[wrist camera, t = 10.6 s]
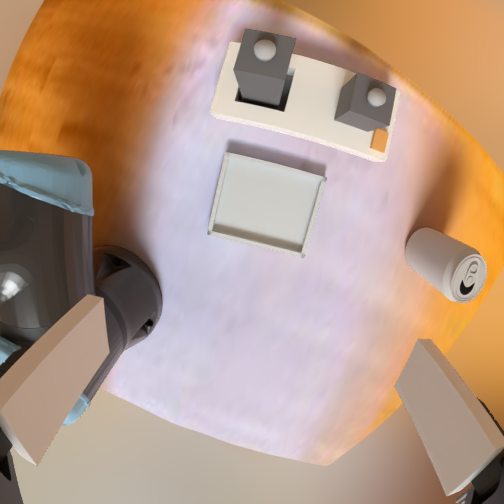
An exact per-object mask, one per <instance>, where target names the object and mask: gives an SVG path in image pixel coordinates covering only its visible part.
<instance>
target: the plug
mask: <svg viewBox="0 0 504 504" xmlns="http://www.w3.org/2000/svg"><path fill="white" fill-rule="evenodd" d="M295 40H296V39H295V38H291V37H287V36H282V35H278V34H273V33H268V32H263V31H257V30H251V29H246V30H245V33H244V36H243V39H242V42H241V45H240V49H239V52H238V55H237V58H236V62H235V65H234V69H233V71H234V74H235V77H236V80H237V83H238V86H239V89H240V92H241V95H242V98H243V101H244V102H247V103H252V104H256V105H261V106H265V107H270V108H274V109H278V107H279V103H280V99H281V95H282V91H283V87H284V83H285V80H286V76H287V72H288V68H289V64H290V60H291V56H292V52H293V48H294V44H295Z"/></svg>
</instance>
